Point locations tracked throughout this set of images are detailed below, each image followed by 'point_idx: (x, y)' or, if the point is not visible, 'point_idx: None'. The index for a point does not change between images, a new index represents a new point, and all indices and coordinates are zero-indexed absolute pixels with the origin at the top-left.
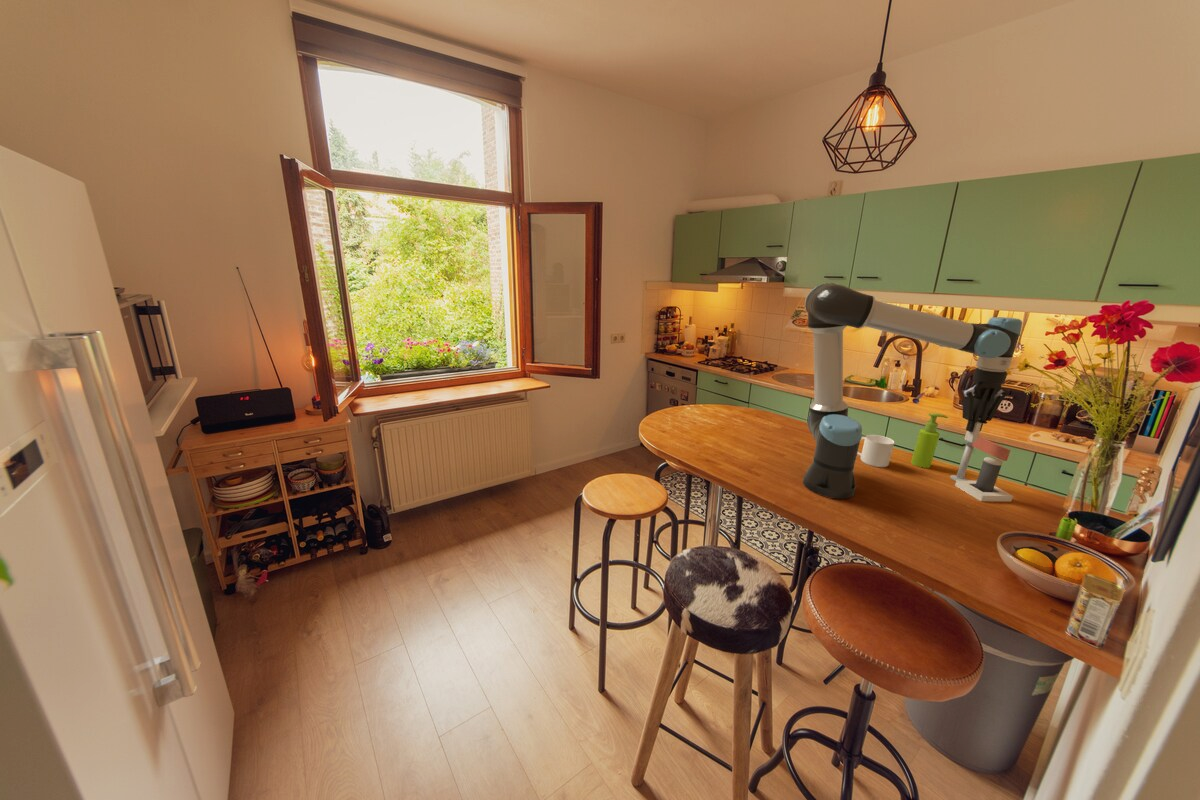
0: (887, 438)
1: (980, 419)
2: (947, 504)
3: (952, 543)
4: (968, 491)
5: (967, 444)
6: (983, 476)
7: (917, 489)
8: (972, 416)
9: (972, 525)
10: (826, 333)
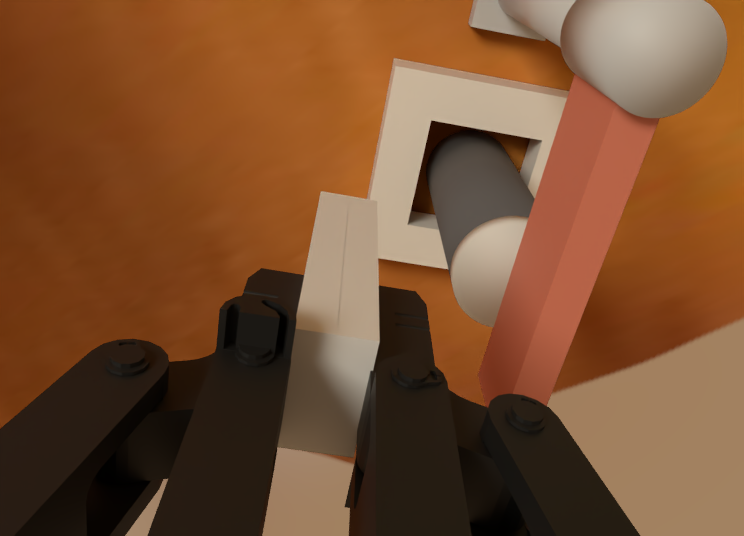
0: None
1: (363, 462)
2: (131, 234)
3: None
4: (374, 162)
5: (561, 37)
6: (438, 223)
7: (80, 58)
8: (124, 523)
9: None
10: None
